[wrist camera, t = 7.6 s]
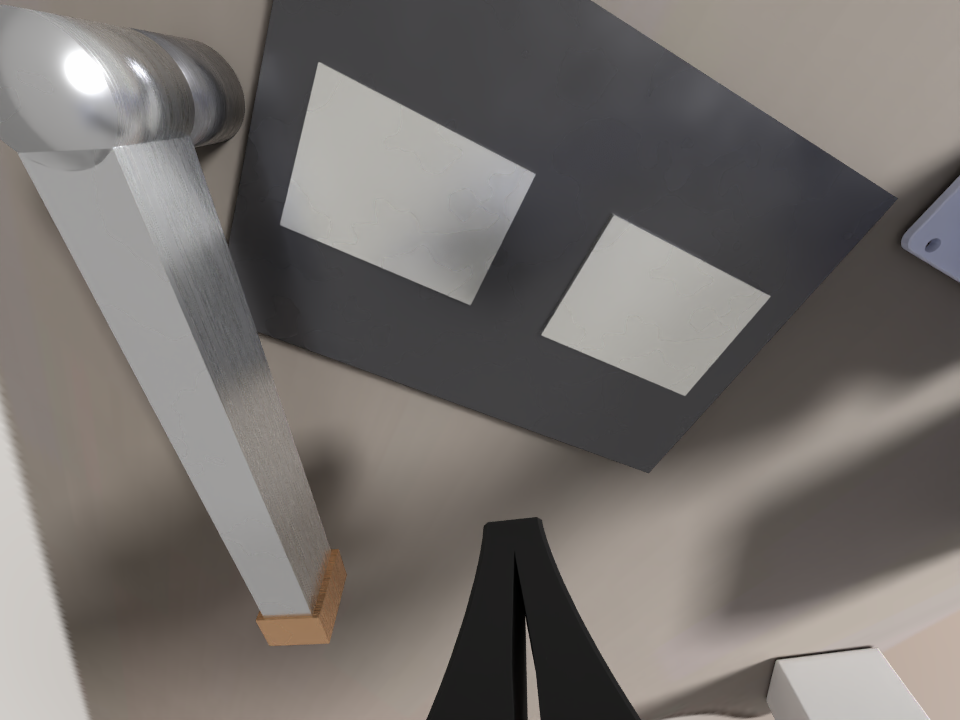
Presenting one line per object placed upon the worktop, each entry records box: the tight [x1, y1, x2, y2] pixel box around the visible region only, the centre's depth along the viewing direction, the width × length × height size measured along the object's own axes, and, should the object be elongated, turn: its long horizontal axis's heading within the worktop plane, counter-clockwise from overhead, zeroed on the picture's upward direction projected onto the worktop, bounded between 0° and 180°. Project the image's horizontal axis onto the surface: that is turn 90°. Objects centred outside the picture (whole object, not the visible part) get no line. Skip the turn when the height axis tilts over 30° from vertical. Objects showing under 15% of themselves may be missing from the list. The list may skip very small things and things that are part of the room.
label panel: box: [130, 0, 898, 473], centre depth 15 cm, size 23×14×3 cm, turn 65°
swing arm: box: [0, 5, 347, 646], centre depth 15 cm, size 22×3×3 cm, turn 2°
